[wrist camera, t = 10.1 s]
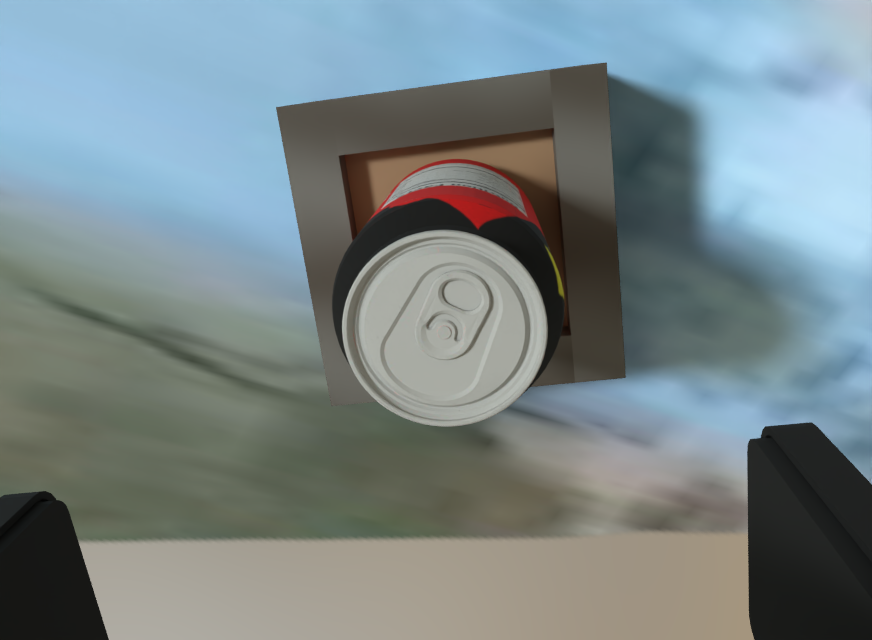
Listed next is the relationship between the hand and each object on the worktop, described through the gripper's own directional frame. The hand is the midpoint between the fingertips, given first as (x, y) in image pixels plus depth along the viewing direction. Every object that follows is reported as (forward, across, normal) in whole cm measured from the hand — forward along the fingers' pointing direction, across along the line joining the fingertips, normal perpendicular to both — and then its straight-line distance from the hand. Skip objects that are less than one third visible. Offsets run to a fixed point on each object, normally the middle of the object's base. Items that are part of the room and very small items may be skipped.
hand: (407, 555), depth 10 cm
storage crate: (+26, 0, 0) cm, 26 cm away
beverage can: (+21, 0, 0) cm, 21 cm away
